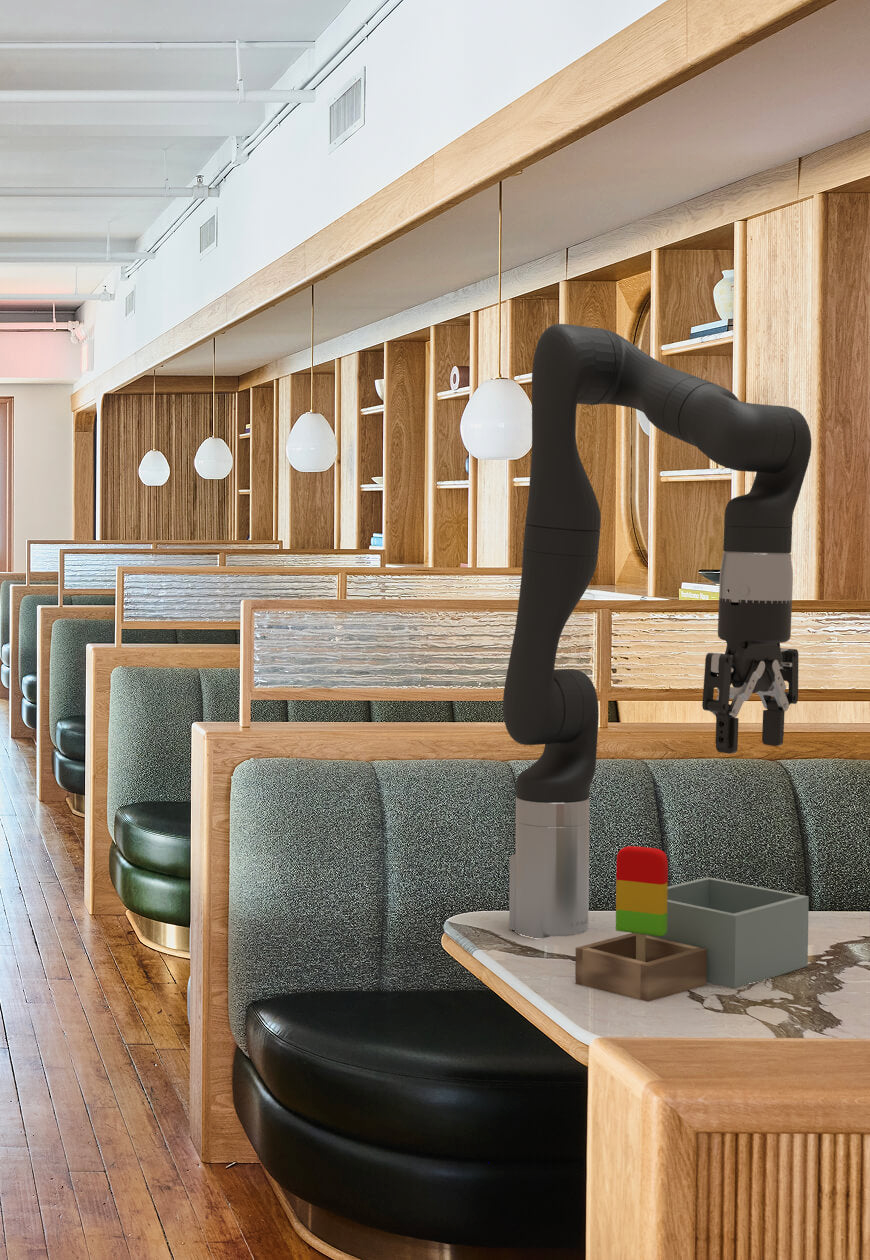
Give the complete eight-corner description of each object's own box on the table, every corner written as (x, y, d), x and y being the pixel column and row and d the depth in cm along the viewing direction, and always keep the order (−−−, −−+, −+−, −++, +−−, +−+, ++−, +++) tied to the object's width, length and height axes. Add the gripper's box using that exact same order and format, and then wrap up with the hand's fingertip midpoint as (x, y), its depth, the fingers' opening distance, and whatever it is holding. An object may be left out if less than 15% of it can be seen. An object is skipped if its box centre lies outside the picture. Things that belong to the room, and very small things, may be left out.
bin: (632, 963, 169) (633, 894, 169) (707, 942, 179) (707, 877, 178) (734, 989, 159) (735, 916, 159) (807, 966, 169) (808, 896, 168)
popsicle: (614, 846, 161) (621, 843, 162) (613, 983, 161) (619, 979, 163) (663, 851, 158) (669, 848, 160) (661, 991, 158) (667, 986, 160)
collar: (575, 984, 161) (575, 947, 161) (634, 967, 168) (634, 932, 168) (647, 1004, 154) (648, 966, 153) (706, 985, 160) (706, 949, 160)
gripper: (763, 593, 163) (757, 739, 164) (685, 595, 153) (680, 750, 155) (823, 596, 158) (817, 747, 159) (747, 598, 148) (741, 759, 149)
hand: (749, 748), depth 157 cm, fingers open, 8 cm apart
